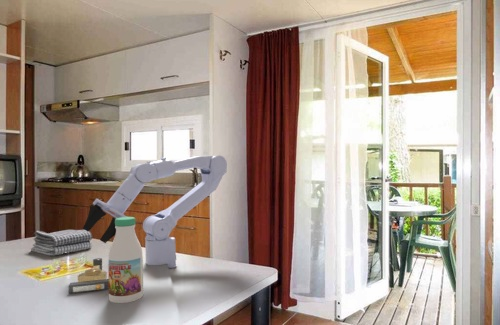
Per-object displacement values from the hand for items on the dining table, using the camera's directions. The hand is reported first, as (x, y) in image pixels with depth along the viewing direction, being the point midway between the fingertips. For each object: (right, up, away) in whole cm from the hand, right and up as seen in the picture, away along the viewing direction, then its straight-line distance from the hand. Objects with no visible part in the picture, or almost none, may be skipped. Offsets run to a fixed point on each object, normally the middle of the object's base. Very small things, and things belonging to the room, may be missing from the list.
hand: (93, 235), depth 99 cm
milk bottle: (+16, -12, -17) cm, 26 cm away
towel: (-28, -13, +34) cm, 46 cm away
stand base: (+4, -12, -7) cm, 14 cm away
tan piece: (+2, -11, -5) cm, 12 cm away
